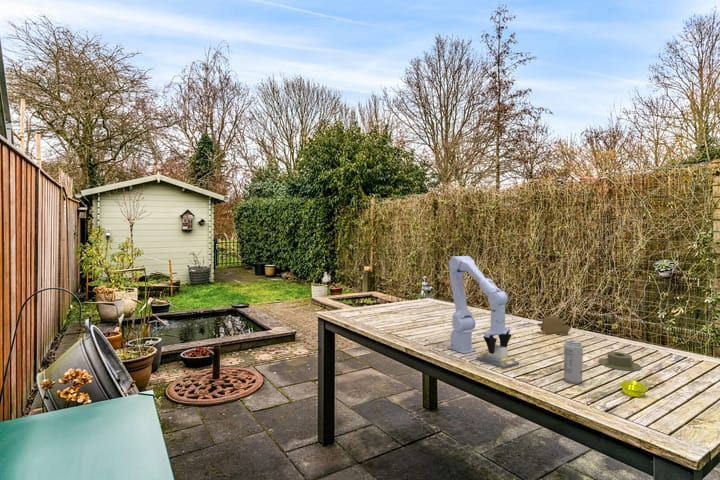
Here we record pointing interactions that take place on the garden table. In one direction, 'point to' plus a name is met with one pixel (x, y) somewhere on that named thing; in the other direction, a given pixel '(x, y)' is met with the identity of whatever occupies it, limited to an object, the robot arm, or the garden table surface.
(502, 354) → the block
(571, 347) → the energy drink can
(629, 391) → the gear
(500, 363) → the rail base
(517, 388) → the garden table surface
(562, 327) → the wooden carving
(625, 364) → the flange
